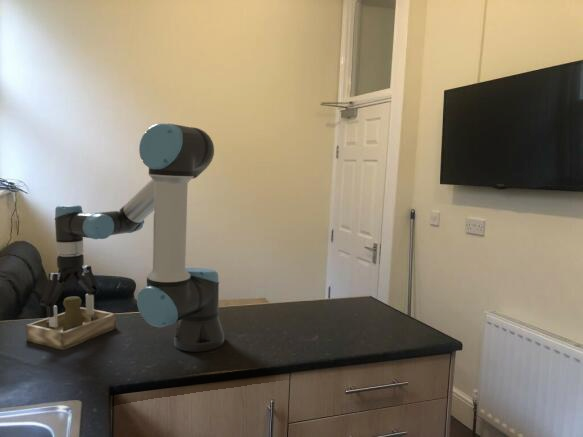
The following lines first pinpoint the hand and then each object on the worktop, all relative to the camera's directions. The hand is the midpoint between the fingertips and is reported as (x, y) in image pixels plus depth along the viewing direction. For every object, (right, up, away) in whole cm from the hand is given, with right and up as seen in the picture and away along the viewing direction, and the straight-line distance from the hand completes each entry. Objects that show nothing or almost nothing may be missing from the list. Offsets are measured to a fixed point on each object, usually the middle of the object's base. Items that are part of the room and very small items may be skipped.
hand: (72, 319), depth 140 cm
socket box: (0, -5, 0) cm, 5 cm away
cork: (0, -4, 0) cm, 4 cm away
